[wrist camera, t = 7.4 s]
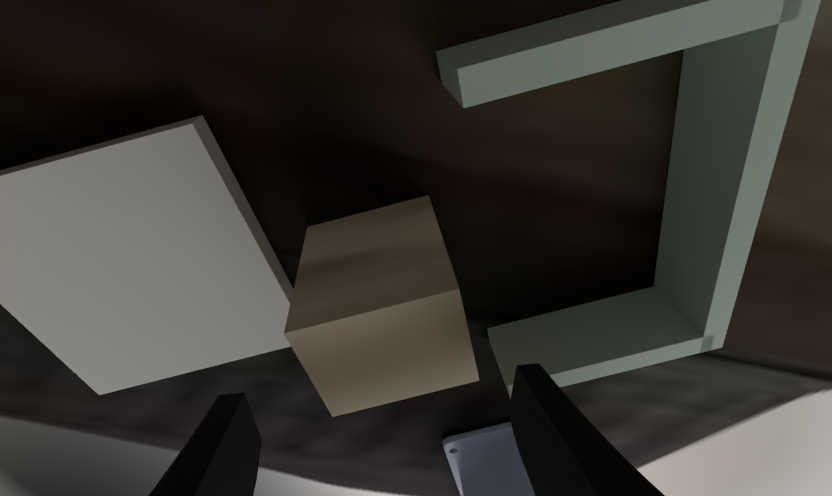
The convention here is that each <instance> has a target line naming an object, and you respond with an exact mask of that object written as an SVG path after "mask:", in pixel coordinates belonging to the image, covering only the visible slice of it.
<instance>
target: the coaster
mask: <svg viewBox="0 0 832 496" xmlns="http://www.w3.org/2000/svg"><path fill="white" fill-rule="evenodd" d="M293 290H294V289H293V287H292V285H291V283H290V282H289V280H288V278H287V276H286V274H285V272H284V270H283V268H282V266H281V264H280V262H279V260H278V259H277V257H276V255H275V253H274V251H273V249H272V247H271V245H270V243H269V241H268V239H267V238H266V236H265V234H264V232H263V230H262V228H261V226H260V224H259V222H258V220H257V218H256V216H255V215H254V213H253V211H252V209H251V207H250V205H249V203H248V201H247V199H246V197H245V195H244V193H243V192H242V190H241V188H240V186H239V184H238V182H237V180H236V178H235V176H234V174H233V172H232V171H231V169H230V167H229V165H228V163H227V161H226V159H225V157H224V155H223V153H222V151H221V149H220V148H219V146H218V144H217V142H216V140H215V138H214V136H213V134H212V132H211V130H210V128H209V127H208V125H207V123H206V121H205V119H204V117H203V115H201V116H197V117H194V118H190V119H186V120H183V121H179V122H175V123H172V124H168V125H164V126H161V127H157V128H153V129H150V130H146V131H142V132H139V133H135V134H132V135H128V136H124V137H121V138H117V139H113V140H110V141H106V142H102V143H99V144H95V145H91V146H88V147H84V148H80V149H77V150H73V151H69V152H66V153H62V154H58V155H55V156H51V157H47V158H44V159H40V160H36V161H33V162H29V163H26V164H22V165H18V166H15V167H11V168H7V169H4V170H0V304H1V305H2V306H3V307H4V308H5V309H6V310H8V311H9V312H10V313H11V314H12V315H13V316H14V317H15V318H16V319H17V320H18V321H19V322H21V323H22V324H23V325H24V326H25V327H26V328H27V329H28V330H29V331H30V332H31V333H32V334H33V335H35V336H36V337H37V338H38V339H39V340H40V341H41V342H42V343H43V344H44V345H45V346H46V347H48V348H49V349H50V350H51V351H52V352H53V353H54V354H55V355H56V356H57V357H58V358H59V359H61V360H62V361H63V362H64V363H65V364H66V365H67V366H68V367H69V368H70V369H71V370H72V371H74V372H75V373H76V374H77V375H78V376H79V377H80V378H81V379H82V380H83V381H84V382H85V383H87V384H88V385H89V386H90V387H91V388H92V389H93V390H94V391H95V392H96V393H97V394H98V395H101V394H105V393H109V392H113V391H117V390H121V389H125V388H129V387H133V386H137V385H141V384H145V383H149V382H153V381H156V380H160V379H164V378H168V377H172V376H176V375H180V374H184V373H188V372H192V371H196V370H200V369H204V368H208V367H211V366H215V365H219V364H223V363H227V362H231V361H235V360H239V359H243V358H247V357H251V356H255V355H259V354H262V353H266V352H270V351H274V350H278V349H282V348H286V347H290V346H291V345H290V343H289V342H288V340H287V338H286V337H285V335H284V330H285V326H286V321H287V317H288V312H289V308H290V303H291V299H292V294H293Z"/></svg>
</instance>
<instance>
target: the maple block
mask: <svg viewBox="0 0 832 496" xmlns="http://www.w3.org/2000/svg"><path fill="white" fill-rule="evenodd" d="M284 335H285V337H286V338H287V340H288V342H289V343H290V345H291V347H292V349H293V350H294V352H295V354H296V355H297V357H298V359H299V361H300V362H301V364H302V366H303V367H304V369H305V371H306V372H307V374H308V376H309V378H310V379H311V381H312V383H313V384H314V386H315V388H316V389H317V391H318V393H319V395H320V396H321V398H322V400H323V401H324V403H325V405H326V406H327V408H328V410H329V412H330V413H331V415H332V417H334V416H338V415H342V414H346V413H350V412H354V411H358V410H363V409H367V408H371V407H375V406H379V405H383V404H387V403H391V402H395V401H399V400H403V399H407V398H411V397H415V396H419V395H423V394H427V393H431V392H435V391H439V390H443V389H447V388H451V387H455V386H459V385H463V384H467V383H471V382H475V381H479V376H478V371H477V367H476V362H475V358H474V353H473V349H472V344H471V340H470V335H469V331H468V326H467V322H466V317H465V313H464V308H463V304H462V299H461V295H460V290H459V287H458V284H457V280H456V277H455V274H454V271H453V268H452V265H451V262H450V259H449V256H448V253H447V250H446V247H445V244H444V241H443V238H442V235H441V232H440V229H439V225H438V222H437V219H436V216H435V213H434V210H433V207H432V204H431V201H430V198H429V195H427V196H423V197H420V198H416V199H412V200H408V201H404V202H401V203H397V204H393V205H389V206H385V207H382V208H378V209H374V210H370V211H366V212H363V213H359V214H355V215H351V216H347V217H344V218H340V219H336V220H332V221H328V222H325V223H321V224H317V225H313V226H309V227H307V231H306V236H305V240H304V245H303V249H302V254H301V258H300V263H299V267H298V272H297V276H296V281H295V285H294V290H293V294H292V299H291V303H290V308H289V312H288V317H287V321H286V326H285V330H284Z"/></svg>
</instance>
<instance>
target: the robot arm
mask: <svg viewBox="0 0 832 496" xmlns="http://www.w3.org/2000/svg"><path fill="white" fill-rule="evenodd" d="M508 413H509V417H510V422H506V423H502V424H498V425H494V426H490V427H486V428H482V429H478V430H474V431H470V432H466V433H462V434H457V435H453V436H449V437H447V438H445V439H444V440H443V447H444V450H445V453H446V456H447V459H448V462H449V465H450V467H451V470H452V473H453V476H454V479H455V482H456V484H457V487H458V490H459V493H460V496H664V495H663V494H662V493H661V492H660V491H659V490H658V489H657V488H656V487H655V486H653V485H652V484H651V483H650V482H649V481H648V480H647V479H646V478H645V477H644V476H643V475H642V474H641V473H640V472H639V471H638V470H637V469H635V468H634V467H633V466H632V465H631V464H630V463H629V462H628V461H627V460H626V459H625V458H624V457H623V456H622V455H621V454H620V453H619V452H618V451H617V450H616V449H615V448H614V447H613V446H612V445H611V444H610V443H609V442H608V441H607V439H606V438H605V437H604V436H603V435H602V434H601V433H600V432H599V431H598V430H597V429H596V428H595V427H594V426H593V425H592V423H591V422H590V421H589V420H588V419H587V418H586V417H585V416H584V415H583V414H582V413H581V411H580V410H579V409H578V408H577V407H576V406H575V405H574V404H573V402H572V401H571V400H570V399H569V398H568V397H567V396H566V394H565V393H564V392H563V391H562V390H561V389H560V387H559V386H558V385H557V384H556V383H555V381H554V380H553V379H552V378H551V377H550V375H549V374H548V373H547V372H546V371H545V369H544V368H543V367H542V366H541V365H540V364H539V363H534V364H524V365H517V366H516V371H515V377H514V382H513V388H512V393H511V399H510V405H509V410H508ZM261 442H262V439H261V436H260V433H259V431H258V428H257V425H256V423H255V420H254V417H253V415H252V412H251V409H250V407H249V404H248V401H247V399H246V396H245V393H236V394H226V395H219V396H218V397H217V398H216V400H215V401H214V403H213V404H212V406H211V407H210V409H209V410H208V412H207V413H206V415H205V416H204V418H203V419H202V421H201V422H200V424H199V425H198V427H197V428H196V430H195V431H194V433H193V434H192V436H191V437H190V439H189V440H188V442H187V443H186V444H185V446H184V447H183V449H182V450H181V452H180V453H179V454H178V456H177V457H176V459H175V460H174V462H173V463H172V464H171V466H170V467H169V468H168V470H167V471H166V472H165V474H164V475H163V477H162V478H161V480H160V481H159V482H158V484H157V485H156V486H155V488H154V489H153V490H152V492H151V493H150V494H149V496H253V493H254V488H255V484H256V479H257V472H258V465H259V458H260V450H261Z"/></svg>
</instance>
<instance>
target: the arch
mask: <svg viewBox="0 0 832 496" xmlns="http://www.w3.org/2000/svg"><path fill="white" fill-rule="evenodd" d="M820 1H821V0H621V1H618V2H614V3H610V4H607V5H603V6H599V7H596V8H592V9H588V10H585V11H581V12H577V13H574V14H570V15H566V16H563V17H559V18H555V19H552V20H548V21H545V22H541V23H537V24H534V25H530V26H526V27H523V28H519V29H515V30H512V31H508V32H504V33H501V34H497V35H493V36H490V37H486V38H482V39H479V40H475V41H471V42H468V43H464V44H460V45H457V46H453V47H449V48H446V49H442V50H439V51H436V55H437V60H438V66H439V71H440V77H441V82H442V84H443V85H444V86H445V87H446V88H447V90H448V91H449V92H450V93H451V94H452V95H453V97H454V98H455V99H456V100H457V101H458V102H459V104H460V105H461V106H462V107H463V108H466V107H470V106H474V105H478V104H481V103H485V102H489V101H492V100H496V99H500V98H504V97H507V96H511V95H515V94H519V93H522V92H526V91H530V90H533V89H537V88H541V87H545V86H548V85H552V84H556V83H559V82H563V81H567V80H571V79H574V78H578V77H582V76H585V75H589V74H593V73H597V72H600V71H604V70H608V69H612V68H615V67H619V66H623V65H626V64H630V63H634V62H638V61H641V60H645V59H649V58H652V57H656V56H660V55H664V54H667V53H671V52H675V51H678V50H682V49H684V53H683V61H682V68H681V76H680V84H679V92H678V99H677V107H676V115H675V123H674V131H673V138H672V146H671V154H670V162H669V169H668V177H667V185H666V193H665V200H664V208H663V216H662V224H661V231H660V239H659V247H658V255H657V262H656V270H655V278H654V286H653V287H649V288H645V289H641V290H637V291H633V292H629V293H625V294H621V295H617V296H613V297H609V298H606V299H602V300H598V301H594V302H590V303H586V304H582V305H578V306H574V307H570V308H566V309H562V310H558V311H554V312H550V313H546V314H542V315H538V316H534V317H530V318H526V319H522V320H518V321H514V322H510V323H506V324H502V325H499V326H495V327H491V328H487V331H488V336H489V341H490V344H491V347H492V350H493V353H494V355H495V358H496V361H497V364H498V366H499V369H500V372H501V375H502V377H503V380H504V383H505V385H506V388H507V391H508V394H509V396H510V399H511V393H512V388H513V382H514V377H515V371H516V366H517V365H524V364H534V363H539V364H540V365H541V366H542V367H543V368H544V369H545V371H546V372H547V373H548V374H549V375H550V377H551V378H552V379H553V380H554V381H555V383H556V384H557V385H558V386H559V387H563V386H567V385H571V384H575V383H579V382H583V381H587V380H592V379H596V378H600V377H604V376H608V375H612V374H616V373H620V372H624V371H628V370H632V369H636V368H640V367H644V366H648V365H652V364H656V363H660V362H665V361H669V360H673V359H677V358H681V357H685V356H689V355H693V354H697V353H701V352H705V351H709V350H713V349H717V348H721V347H722V346H723V343H724V339H725V336H726V332H727V329H728V325H729V321H730V318H731V314H732V311H733V307H734V304H735V300H736V297H737V293H738V290H739V286H740V283H741V279H742V276H743V272H744V269H745V265H746V262H747V258H748V255H749V251H750V248H751V244H752V240H753V237H754V233H755V230H756V226H757V223H758V219H759V216H760V212H761V209H762V205H763V202H764V198H765V195H766V191H767V188H768V184H769V181H770V177H771V174H772V170H773V166H774V163H775V159H776V156H777V152H778V149H779V145H780V142H781V138H782V135H783V131H784V128H785V124H786V121H787V117H788V114H789V110H790V107H791V103H792V100H793V96H794V93H795V89H796V85H797V82H798V78H799V75H800V71H801V68H802V64H803V61H804V57H805V54H806V50H807V47H808V43H809V40H810V36H811V33H812V29H813V26H814V22H815V19H816V15H817V12H818V8H819V4H820Z"/></svg>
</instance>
